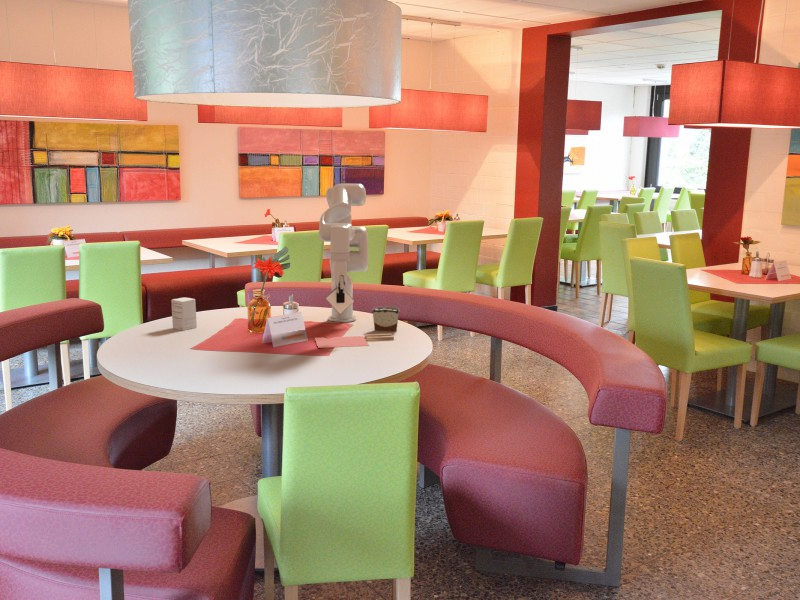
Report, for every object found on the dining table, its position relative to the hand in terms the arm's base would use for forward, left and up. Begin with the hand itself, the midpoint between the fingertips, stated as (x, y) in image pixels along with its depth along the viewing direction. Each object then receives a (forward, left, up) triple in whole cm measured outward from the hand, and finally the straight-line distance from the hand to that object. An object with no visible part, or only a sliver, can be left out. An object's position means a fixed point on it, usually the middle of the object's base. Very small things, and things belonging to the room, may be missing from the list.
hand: (340, 301), depth 308 cm
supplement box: (-34, -63, -16) cm, 73 cm away
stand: (0, +16, -16) cm, 23 cm away
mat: (+3, 0, -16) cm, 16 cm away
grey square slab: (0, -3, -2) cm, 4 cm away
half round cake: (-16, +22, -16) cm, 32 cm away
